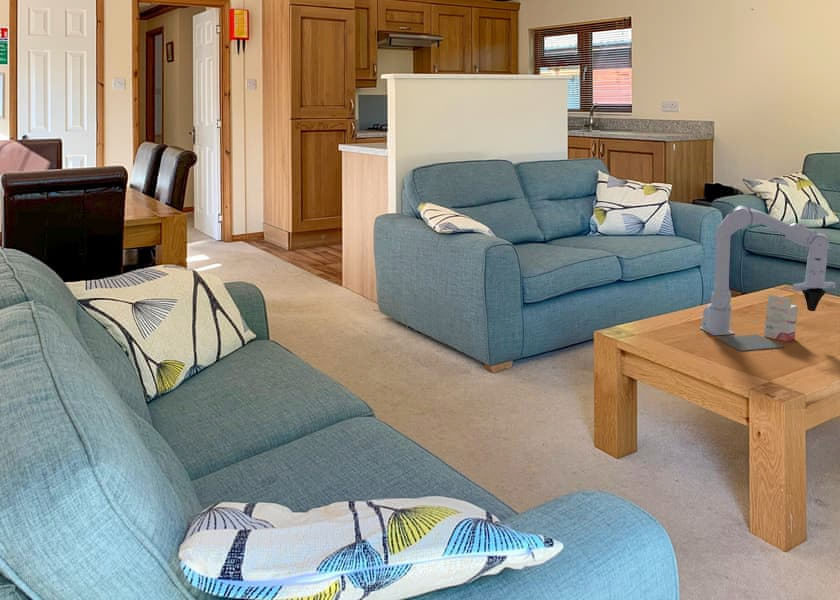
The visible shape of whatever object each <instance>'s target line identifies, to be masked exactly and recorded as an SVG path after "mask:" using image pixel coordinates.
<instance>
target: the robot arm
mask: <svg viewBox="0 0 840 600" xmlns="http://www.w3.org/2000/svg"><path fill="white" fill-rule="evenodd" d="M750 224H751V226H757V225H763V226H765V227H768V228H770V229H773V230H774V231H777V232H780V233H782V234H784V235H785V239H787V240H788V241H792V242H793V243H795V244H798V245H799V246H803V247H805V248H806V247H808V248H809V250H808V255H807V260H806V261H807V262H806V268H805V269H806V270H805V277H804V281H803V282H798V283H793V284H792V288H791V289H792V291H795V292H799V291H801V292H802V294H803V296H804V299H805V302H806V308H807V311H809V312H816V309H817V306H818V305H819V302H820V301H821V299H822V297H824V296H825V294H826V290H825V289H832V290H833V289H836V282H834V281H825V280H826V272H827V271H826V270H827V263H828V250H829V249H830V248H831V247H830V246H831V244H830V240H829V238H828V236H827V235H826V234H824V233H823V232H820V231H818V230H817V229H811V228H809V227H805V226H804V224H803V223H802V222H799V223H797V222H794V223H791V224H788V223H787V222H785V221H783V220H781V219H778V218H776V217H774V216H772V215H770V214H768V213H765V212H764V211H761V210H758V209H755V208H752V207H750V208H749V207H748V206H746V205H737V206H736V207H734V208H733V209H731V210H730V211H729V212H728V213H727V215H726V216H725V217H724V219H722V221H721V223H720V224H719V225H718V227H717V228H716V236H715V237H716V239H715V261H714V262H715V267H714V268H715V269H714V287H713V290H712V293H711V296H710V303H708V304H707V305H706V306H705V307H704V309H703V311H702V323H701V325H702V326H699V329H701V330H702V331H705V332H707V333H708V334H710V335H712V336H722V335H723V336H724V335H726V336H727V335H734V334H735V331H732V330H730V327H731V318H732V305H731V299H732V291H731V289H730V286H729V285H730V281H729V280H730V278H729V277H730V258H731V237H732V235H733V234H735V233H736V232H737V231H738V230H741V229H744V228H745V227H748V226H749V225H750ZM823 289H824V290H823ZM735 335H736V334H735Z"/></svg>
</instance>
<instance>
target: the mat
mask: <svg viewBox="0 0 840 600" xmlns="http://www.w3.org/2000/svg"><path fill="white" fill-rule="evenodd" d="M716 340H718V341H720V342H722V343H723V344H726V345H728V346H730V347H732V348H733V349H735V350H738V351H739V352H750V351H751V352H752V351H760V350H761V351H762V350H763V351H765V350H773V349H784V348H785V346H784V345H782V344H779V343H778V342H775V341H773V340H770V339H769V338H767V337H765V336H762V335H759V334H746V335H735V336H724V337H723V336H722V337H721V336H720V337H716Z"/></svg>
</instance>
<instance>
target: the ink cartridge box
mask: <svg viewBox="0 0 840 600" xmlns="http://www.w3.org/2000/svg"><path fill="white" fill-rule="evenodd" d="M767 300H768V301H767V304H766V305H767V306H766V311H765V313H766V314H765V322H764V323H765V324H764V325H765V326H764V336H763V337H764V338H771V339H774V340H777V341H778V340H779V341H783V342H790V341H793V340H795V337H796V328H797V320H798V309H799V305H795V304H792V299H791V298H789V297H783V296H778V295H773V294H769V295H768V298H767ZM776 300H777V301H776ZM778 300H780V301H778Z"/></svg>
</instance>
